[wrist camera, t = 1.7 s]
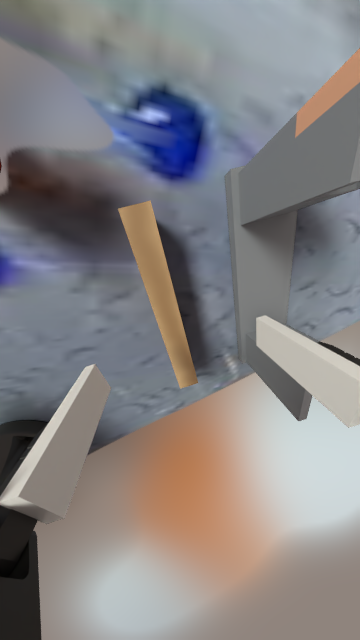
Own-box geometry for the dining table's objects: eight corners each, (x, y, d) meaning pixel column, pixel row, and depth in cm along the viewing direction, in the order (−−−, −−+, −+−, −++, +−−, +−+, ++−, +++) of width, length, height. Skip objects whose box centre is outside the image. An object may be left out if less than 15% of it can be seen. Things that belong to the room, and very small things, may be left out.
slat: (175, 363, 28) (180, 388, 23) (129, 223, 18) (117, 208, 13) (190, 359, 28) (198, 382, 23) (152, 217, 18) (150, 200, 13)
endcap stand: (238, 358, 30) (295, 427, 18) (224, 176, 17) (386, -17, 5) (277, 346, 30) (360, 406, 18) (292, 159, 18) (590, -57, 6)
